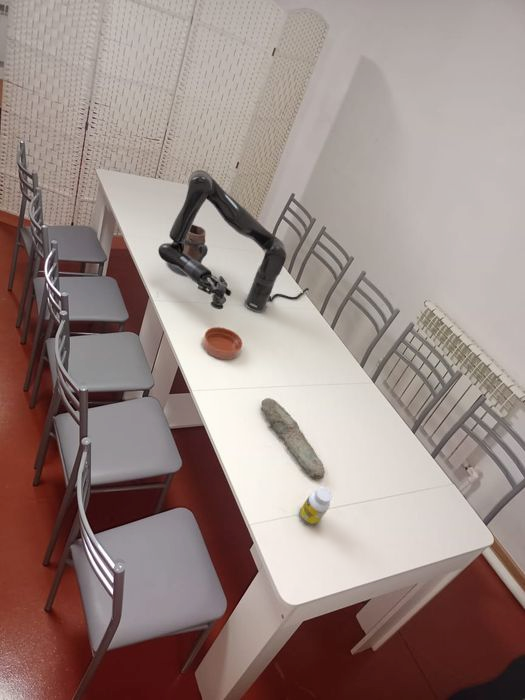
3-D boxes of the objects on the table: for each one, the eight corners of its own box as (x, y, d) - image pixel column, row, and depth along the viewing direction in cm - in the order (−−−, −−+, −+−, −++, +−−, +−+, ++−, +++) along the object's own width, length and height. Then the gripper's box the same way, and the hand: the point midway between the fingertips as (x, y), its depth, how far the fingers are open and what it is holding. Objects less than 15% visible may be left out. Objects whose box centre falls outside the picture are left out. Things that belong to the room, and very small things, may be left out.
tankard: (161, 257, 231) (169, 219, 220) (191, 256, 242) (201, 220, 230) (184, 286, 219) (194, 247, 207) (215, 283, 229) (226, 246, 218)
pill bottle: (297, 505, 147) (312, 482, 140) (317, 508, 149) (332, 486, 142) (300, 524, 142) (315, 502, 135) (320, 527, 144) (336, 505, 137)
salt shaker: (221, 311, 196) (229, 287, 189) (208, 305, 196) (215, 281, 189) (225, 304, 201) (233, 280, 194) (212, 299, 201) (220, 274, 194)
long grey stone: (305, 487, 155) (327, 479, 161) (313, 478, 152) (334, 470, 158) (252, 404, 173) (273, 400, 179) (258, 394, 170) (279, 391, 176)
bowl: (220, 331, 202) (223, 323, 199) (246, 352, 197) (249, 344, 194) (194, 342, 191) (197, 333, 188) (221, 365, 185) (224, 357, 183)
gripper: (186, 267, 192) (217, 291, 186) (211, 261, 202) (240, 283, 196) (182, 283, 196) (212, 307, 190) (206, 276, 207) (235, 298, 201)
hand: (226, 295), depth 193 cm, fingers closed on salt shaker, 3 cm apart
